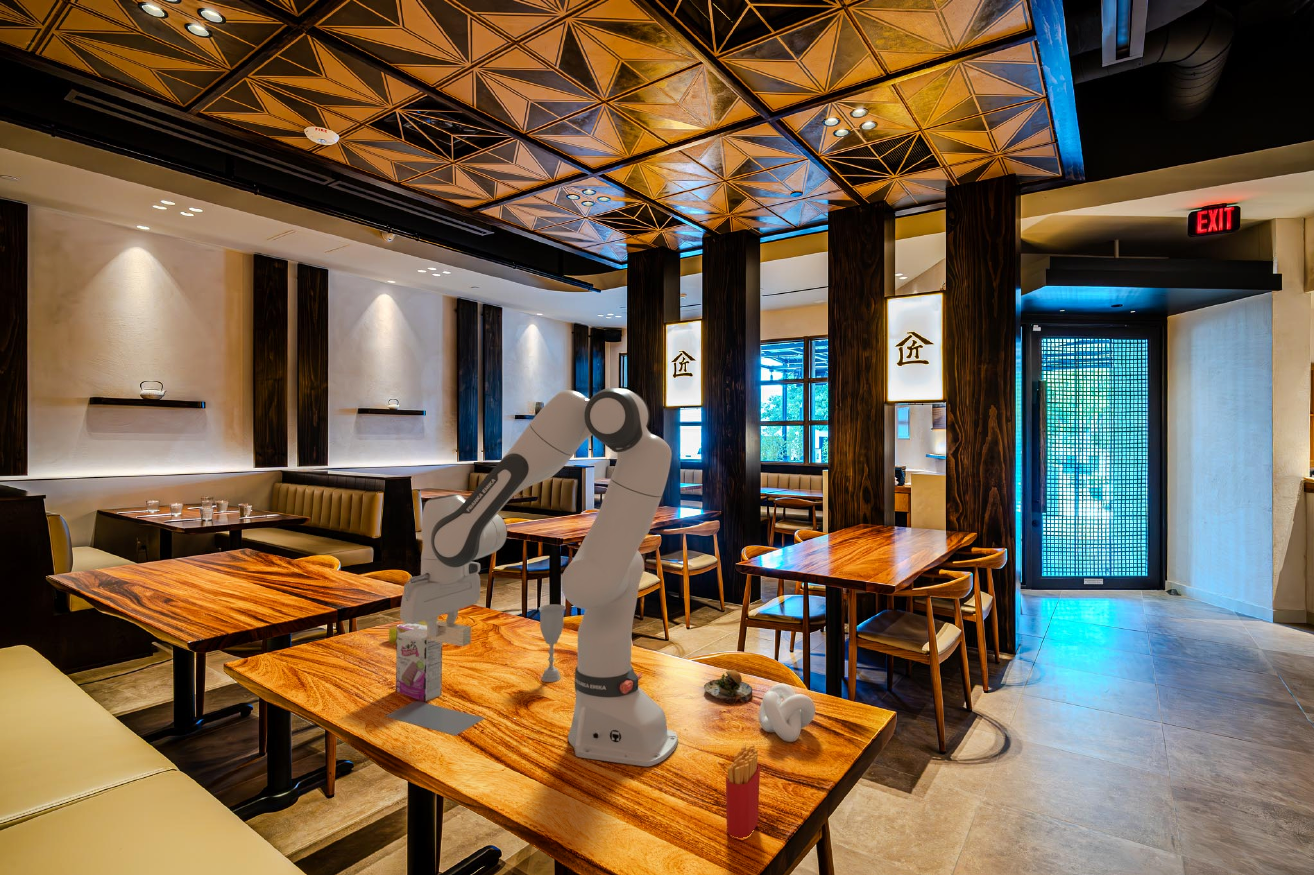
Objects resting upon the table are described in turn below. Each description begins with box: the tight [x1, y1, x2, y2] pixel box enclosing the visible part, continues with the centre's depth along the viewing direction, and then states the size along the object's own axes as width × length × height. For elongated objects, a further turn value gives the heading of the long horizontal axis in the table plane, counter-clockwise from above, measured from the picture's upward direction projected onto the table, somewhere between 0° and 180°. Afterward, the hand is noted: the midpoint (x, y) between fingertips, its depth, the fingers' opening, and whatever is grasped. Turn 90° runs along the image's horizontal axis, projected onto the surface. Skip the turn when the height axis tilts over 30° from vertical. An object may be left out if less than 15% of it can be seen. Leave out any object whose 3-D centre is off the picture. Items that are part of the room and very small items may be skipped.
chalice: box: [538, 603, 566, 683], centre depth 159 cm, size 7×7×18 cm
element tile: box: [388, 619, 456, 645], centre depth 190 cm, size 15×15×5 cm
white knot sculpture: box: [758, 683, 816, 743], centre depth 130 cm, size 11×12×9 cm
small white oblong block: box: [398, 621, 472, 647], centre depth 134 cm, size 17×5×4 cm, turn 65°
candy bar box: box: [395, 623, 443, 702], centre depth 146 cm, size 11×5×16 cm, turn 58°
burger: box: [703, 665, 753, 705], centre depth 151 cm, size 12×12×8 cm
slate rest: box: [384, 700, 486, 737], centre depth 134 cm, size 20×9×1 cm, turn 65°
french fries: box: [725, 744, 761, 838], centre depth 98 cm, size 8×4×12 cm, turn 151°
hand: (441, 634), depth 134 cm, fingers closed on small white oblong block, 2 cm apart
